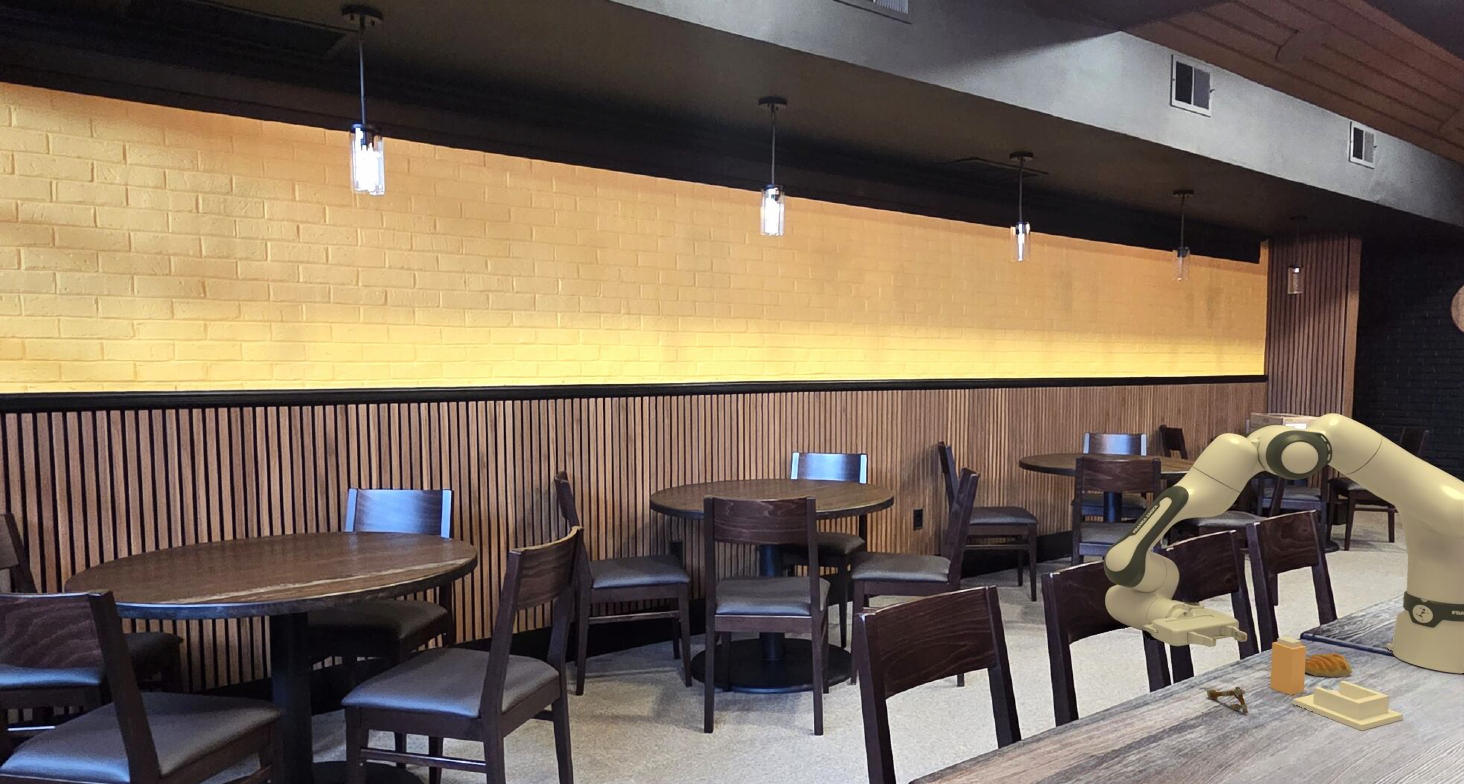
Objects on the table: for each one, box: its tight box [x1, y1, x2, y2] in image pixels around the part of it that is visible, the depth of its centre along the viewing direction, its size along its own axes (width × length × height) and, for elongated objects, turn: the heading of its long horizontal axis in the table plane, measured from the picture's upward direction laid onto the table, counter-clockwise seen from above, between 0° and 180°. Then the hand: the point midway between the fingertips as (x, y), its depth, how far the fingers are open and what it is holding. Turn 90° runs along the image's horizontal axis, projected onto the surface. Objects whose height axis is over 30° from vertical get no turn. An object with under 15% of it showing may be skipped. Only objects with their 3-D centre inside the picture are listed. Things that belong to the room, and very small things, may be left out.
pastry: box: [1305, 652, 1353, 678], centre depth 178 cm, size 9×7×4 cm
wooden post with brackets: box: [1205, 686, 1249, 714], centre depth 159 cm, size 2×8×4 cm, turn 16°
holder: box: [1292, 680, 1404, 732], centre depth 158 cm, size 12×12×4 cm
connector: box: [1269, 636, 1307, 696], centre depth 168 cm, size 4×4×10 cm
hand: (1229, 640), depth 179 cm, fingers open, 8 cm apart
